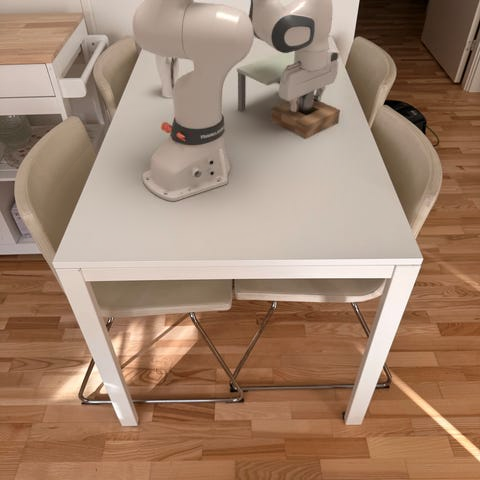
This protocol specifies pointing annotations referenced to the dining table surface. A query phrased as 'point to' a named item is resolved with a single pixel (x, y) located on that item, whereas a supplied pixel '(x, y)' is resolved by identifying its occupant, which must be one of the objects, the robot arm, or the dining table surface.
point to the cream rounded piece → (167, 74)
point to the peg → (306, 103)
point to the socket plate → (305, 118)
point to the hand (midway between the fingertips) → (305, 105)
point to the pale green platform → (262, 73)
